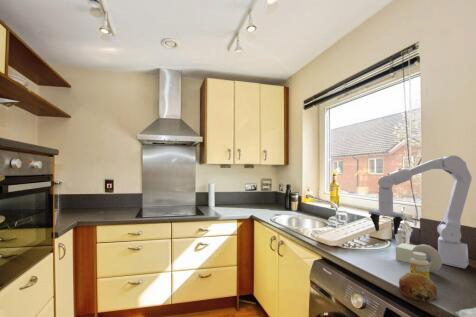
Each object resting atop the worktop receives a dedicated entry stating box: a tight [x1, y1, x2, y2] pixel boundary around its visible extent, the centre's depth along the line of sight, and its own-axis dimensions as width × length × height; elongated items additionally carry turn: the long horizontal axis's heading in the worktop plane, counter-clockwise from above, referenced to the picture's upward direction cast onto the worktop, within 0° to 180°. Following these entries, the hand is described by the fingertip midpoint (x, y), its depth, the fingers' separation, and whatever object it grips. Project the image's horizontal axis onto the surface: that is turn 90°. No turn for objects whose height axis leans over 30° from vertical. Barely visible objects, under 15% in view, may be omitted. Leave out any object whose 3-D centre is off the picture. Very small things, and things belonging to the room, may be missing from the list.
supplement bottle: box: [409, 252, 430, 279], centre depth 90 cm, size 5×5×10 cm
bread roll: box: [398, 272, 438, 302], centre depth 81 cm, size 10×10×8 cm
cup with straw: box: [391, 206, 414, 247], centre depth 124 cm, size 8×9×20 cm
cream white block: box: [395, 243, 417, 264], centre depth 112 cm, size 9×6×5 cm, turn 132°
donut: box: [412, 243, 443, 273], centre depth 99 cm, size 10×4×10 cm, turn 31°
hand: (386, 232), depth 118 cm, fingers open, 7 cm apart
